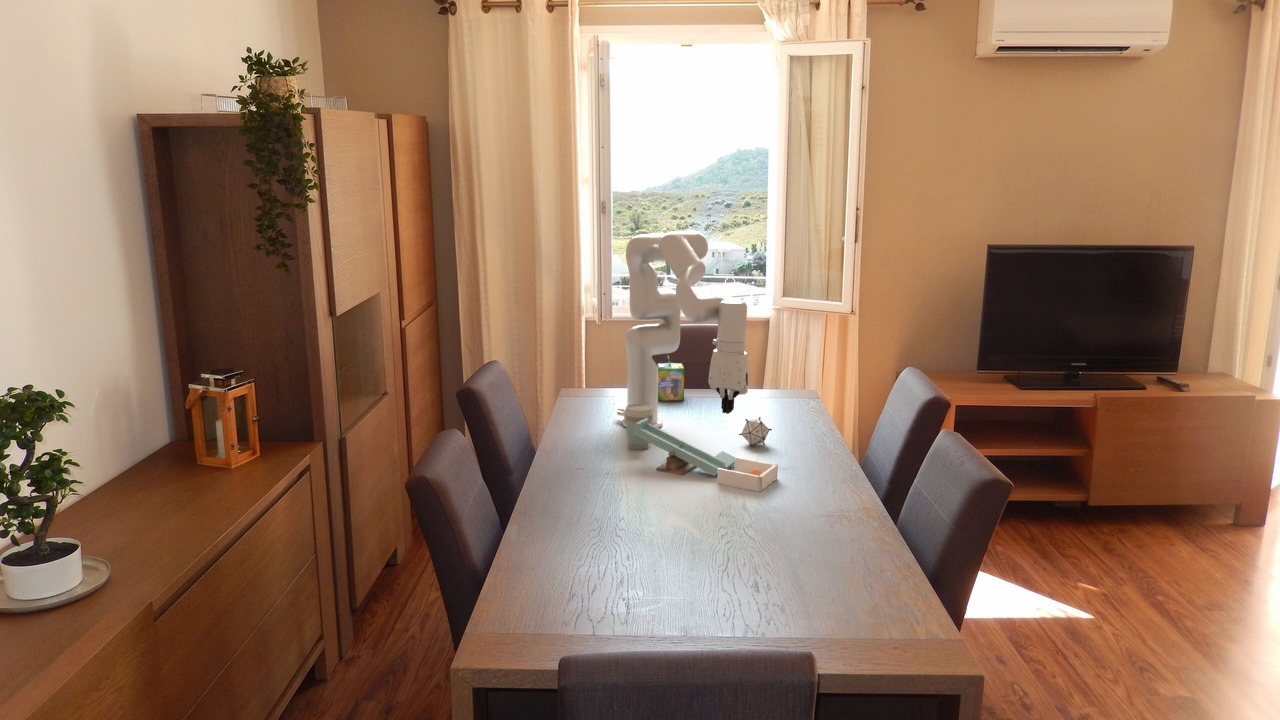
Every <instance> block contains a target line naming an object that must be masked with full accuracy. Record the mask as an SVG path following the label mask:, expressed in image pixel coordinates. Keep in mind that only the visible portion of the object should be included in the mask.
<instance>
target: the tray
mask: <svg viewBox="0 0 1280 720" xmlns="http://www.w3.org/2000/svg"><path fill="white" fill-rule="evenodd" d="M734 457H735V464H734V465H733V467H734V469H733V470H731V469H721V468H718V474H717V478H716V479H717V481H716V483H717V484H718V485H723V486H727V487H732V488H737V489H742V490H747V491H752V492H757V493H761V492H763V491H764V490H765V489H767V488H768V487H769V486H770V485H771V484H773V483H774V482H775V481H776V480H775V479H777V480H778V470H779V469H778V467H779V465H778V464H776V463H771V462H766V461H760V460H755V459H751V458H745V457H739V456H734ZM753 468H757V469H759V470H761V472H762V474H761V475H760V476H757V475H752V474H749V472H750V470H751V469H753ZM774 480H775V481H774ZM773 481H774V482H773ZM772 482H773V483H772ZM769 484H770V485H769ZM768 485H769V486H768ZM767 486H768V487H767ZM763 489H764V490H763ZM762 490H763V491H762Z"/></svg>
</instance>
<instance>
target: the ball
mask: <svg viewBox="0 0 1280 720" xmlns="http://www.w3.org/2000/svg"><path fill="white" fill-rule="evenodd" d="M749 474H752V475H757V476H760V475H761V474H762V472H761V470H759V469H757V468H753V469H751V470H750V472H749Z"/></svg>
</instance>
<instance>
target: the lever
mask: <svg viewBox="0 0 1280 720" xmlns="http://www.w3.org/2000/svg"><path fill="white" fill-rule="evenodd" d="M648 420H649V419H648V418H645V419H643V420H641V421H639V422H637V423H636V424H635V427H634V431H633V434H634V435H636V436H638V437H640V438H642V439H644V440H646V441H648V442H649V444H652V445H654V446H656V447H658V448H659V449H661V450H663V451H665V452H667V453H668V457H669V456H673V455H675V456H677V457H679V458H681V459H682V460H684V461H686V462H688V463H690V464H692V465H694V466H696V467H695V468H698V469H699V470H700V469H701V470H702V471H704V472H706V473H707V474H710V475H712V476H713V477H715V476H716V475H718V468H721V469H727V470H729V469H730V468H731V467H733V466H734V464H735V457H736V456H733V455H732V454H730V453H728V452H726V451H723V450H722V451H720V452H719V453H717V454H716V455H712V454H710V453H707V452H706V451H704V450H702V449H700V448H698V447H696V446H695V445H694V446H693V445H692V444H690V443H688V442H686V441H684V440H682V439H680V438H678V437H676V436H675V435H672V434H671V433H668V432H666V431H665V430H663V429H660V427H659V428H657V427H655V426H653V425H651V424H649V423H648Z"/></svg>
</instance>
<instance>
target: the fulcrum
mask: <svg viewBox="0 0 1280 720" xmlns="http://www.w3.org/2000/svg"><path fill="white" fill-rule="evenodd" d="M696 468H697V467H696V466H694V465H692V464H690V463H688V462H686V461H684V460H682V459H681V458H679V457H677V456H675V455H673V456H669V455H668V457H667V456H666V462H665V461H664V462H663V463H661V464H660V465H659V466H657V467H655V470H656V471H660V472H664V473H665V472H666V473H669V474H675V475H679V476H684V475H685V474H687V473H688V472H690V471H692V470H694V469H696Z"/></svg>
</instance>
